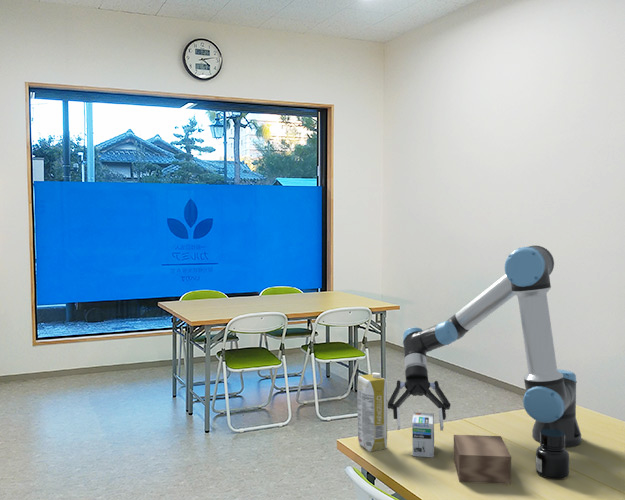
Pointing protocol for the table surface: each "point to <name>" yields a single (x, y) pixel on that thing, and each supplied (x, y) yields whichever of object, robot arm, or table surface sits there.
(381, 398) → the juice carton
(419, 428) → the light bulb box
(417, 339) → the robot arm
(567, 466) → the ink bottle
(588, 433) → the table surface
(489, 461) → the walnut block
